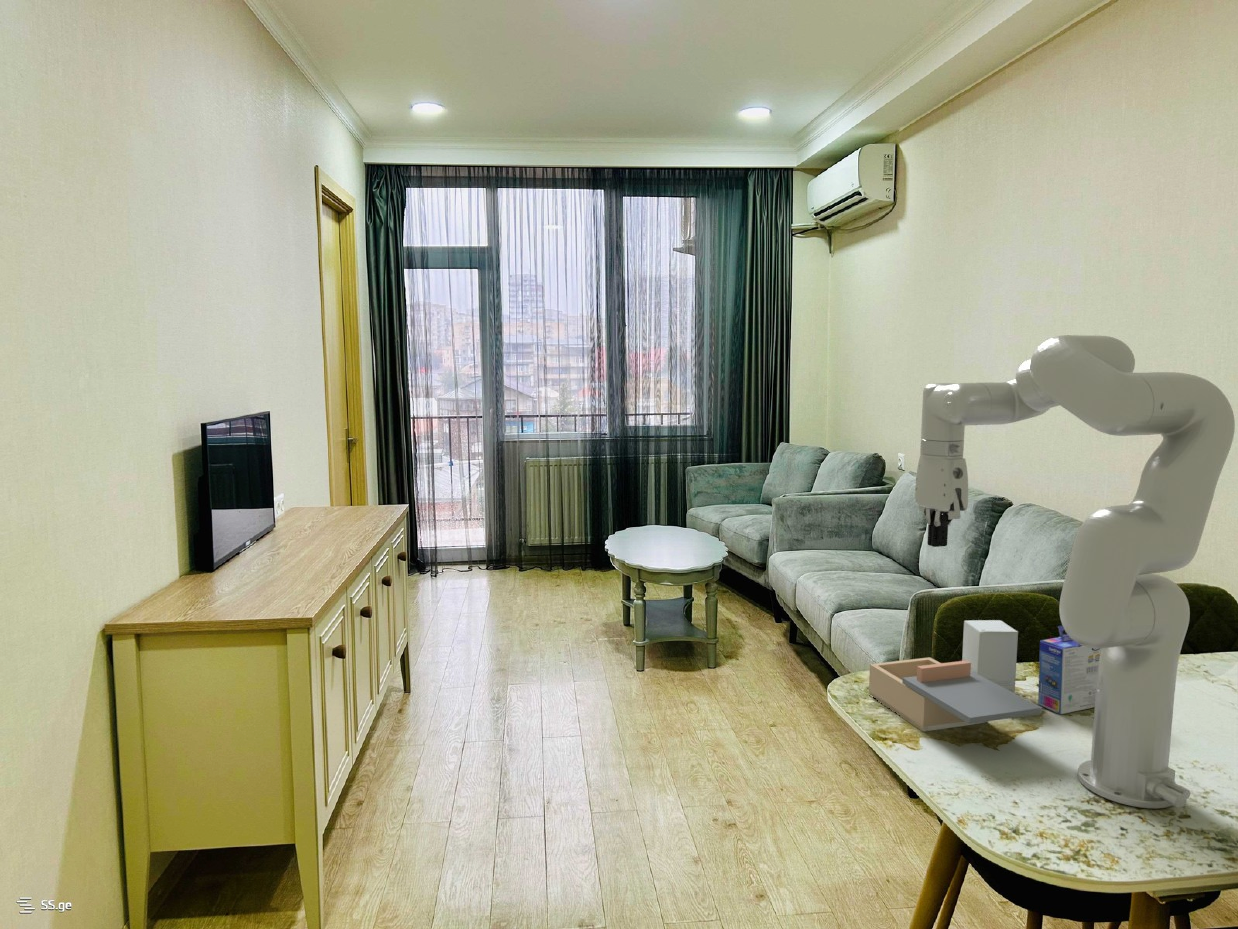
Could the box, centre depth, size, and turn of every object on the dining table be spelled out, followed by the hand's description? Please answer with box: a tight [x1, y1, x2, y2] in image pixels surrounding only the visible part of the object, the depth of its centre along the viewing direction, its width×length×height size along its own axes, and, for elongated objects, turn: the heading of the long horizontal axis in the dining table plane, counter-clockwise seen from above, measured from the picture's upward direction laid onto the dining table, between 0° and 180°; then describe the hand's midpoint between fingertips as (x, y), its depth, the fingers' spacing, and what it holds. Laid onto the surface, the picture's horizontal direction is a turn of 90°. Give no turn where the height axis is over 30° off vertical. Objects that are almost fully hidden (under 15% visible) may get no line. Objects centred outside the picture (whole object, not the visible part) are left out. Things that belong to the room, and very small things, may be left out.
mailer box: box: [868, 656, 988, 732], centre depth 147 cm, size 16×13×6 cm
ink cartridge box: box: [1037, 625, 1103, 715], centre depth 148 cm, size 10×6×14 cm, turn 112°
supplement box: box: [961, 619, 1019, 694], centre depth 155 cm, size 7×7×13 cm
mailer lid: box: [902, 660, 1043, 725], centre depth 137 cm, size 17×14×3 cm
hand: (937, 545), depth 156 cm, fingers closed
